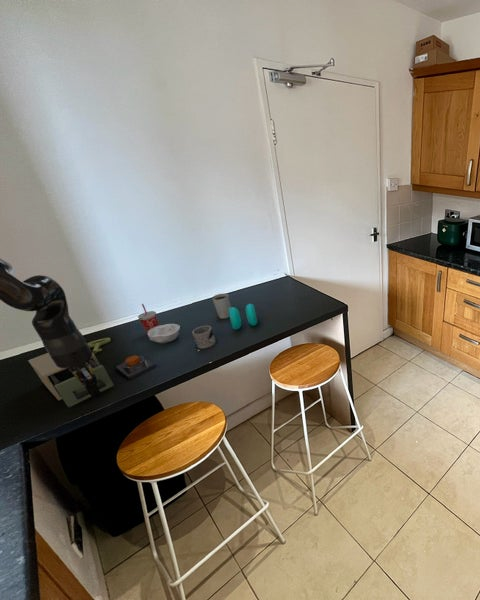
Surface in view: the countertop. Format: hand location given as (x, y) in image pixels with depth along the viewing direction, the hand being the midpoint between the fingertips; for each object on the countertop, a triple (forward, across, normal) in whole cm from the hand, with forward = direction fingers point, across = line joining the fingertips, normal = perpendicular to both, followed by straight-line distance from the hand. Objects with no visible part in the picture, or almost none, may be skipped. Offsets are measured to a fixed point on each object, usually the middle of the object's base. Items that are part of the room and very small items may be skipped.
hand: (95, 393), depth 94 cm
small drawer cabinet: (+6, -24, 0) cm, 25 cm away
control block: (+6, -14, +14) cm, 21 cm away
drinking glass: (+6, -23, +54) cm, 59 cm away
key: (+6, -42, +12) cm, 44 cm away
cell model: (+6, -24, +29) cm, 38 cm away
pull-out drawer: (+5, -13, 0) cm, 14 cm away
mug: (+6, -9, +37) cm, 39 cm away
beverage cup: (+6, -35, +29) cm, 46 cm away
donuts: (+6, -6, +53) cm, 54 cm away
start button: (+3, -14, +14) cm, 20 cm away
